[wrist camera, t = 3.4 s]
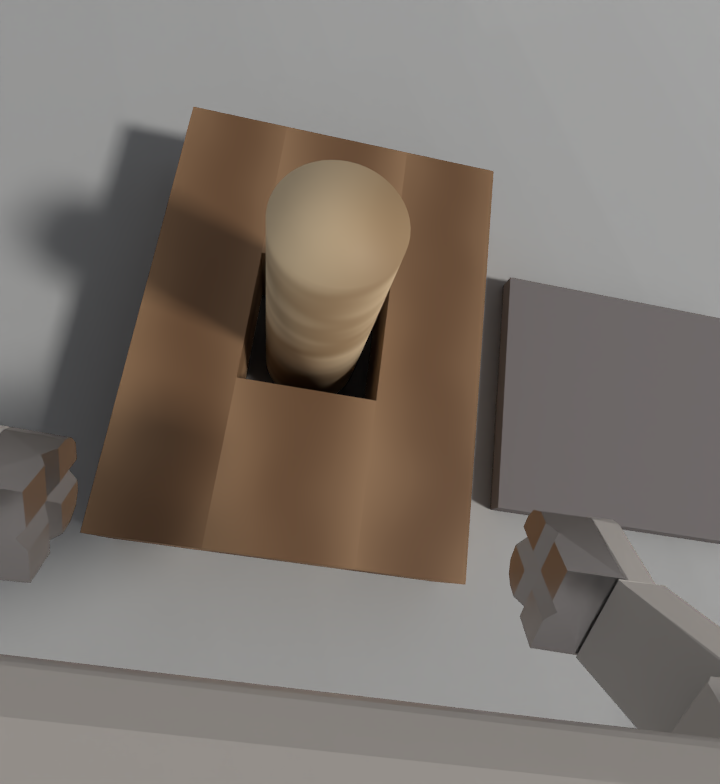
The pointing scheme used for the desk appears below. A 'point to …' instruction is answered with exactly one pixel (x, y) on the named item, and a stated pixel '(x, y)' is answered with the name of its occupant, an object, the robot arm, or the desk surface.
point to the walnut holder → (291, 404)
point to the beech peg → (328, 269)
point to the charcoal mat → (608, 411)
